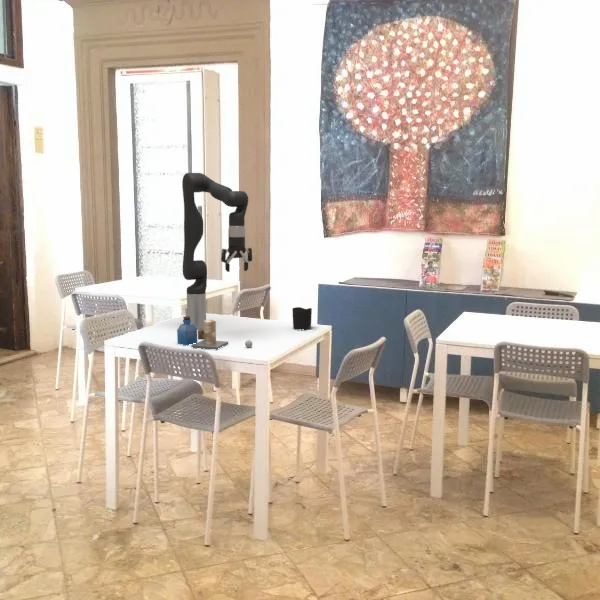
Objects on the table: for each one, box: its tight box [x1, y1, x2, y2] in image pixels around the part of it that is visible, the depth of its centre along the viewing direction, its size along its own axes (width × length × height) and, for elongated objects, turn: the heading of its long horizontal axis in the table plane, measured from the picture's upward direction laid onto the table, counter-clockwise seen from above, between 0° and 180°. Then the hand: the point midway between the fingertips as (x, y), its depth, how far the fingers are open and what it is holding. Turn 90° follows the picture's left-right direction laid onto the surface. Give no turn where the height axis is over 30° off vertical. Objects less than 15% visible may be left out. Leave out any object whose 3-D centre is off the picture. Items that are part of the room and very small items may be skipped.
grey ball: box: [244, 339, 253, 348], centre depth 318 cm, size 3×3×3 cm
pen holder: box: [291, 306, 313, 330], centre depth 359 cm, size 9×9×10 cm
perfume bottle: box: [176, 315, 198, 346], centre depth 326 cm, size 6×6×12 cm
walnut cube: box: [197, 328, 204, 340], centre depth 337 cm, size 4×4×4 cm
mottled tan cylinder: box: [203, 319, 217, 345], centre depth 320 cm, size 4×4×10 cm
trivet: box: [190, 339, 229, 350], centre depth 321 cm, size 12×12×1 cm
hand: (236, 271), depth 335 cm, fingers open, 8 cm apart
